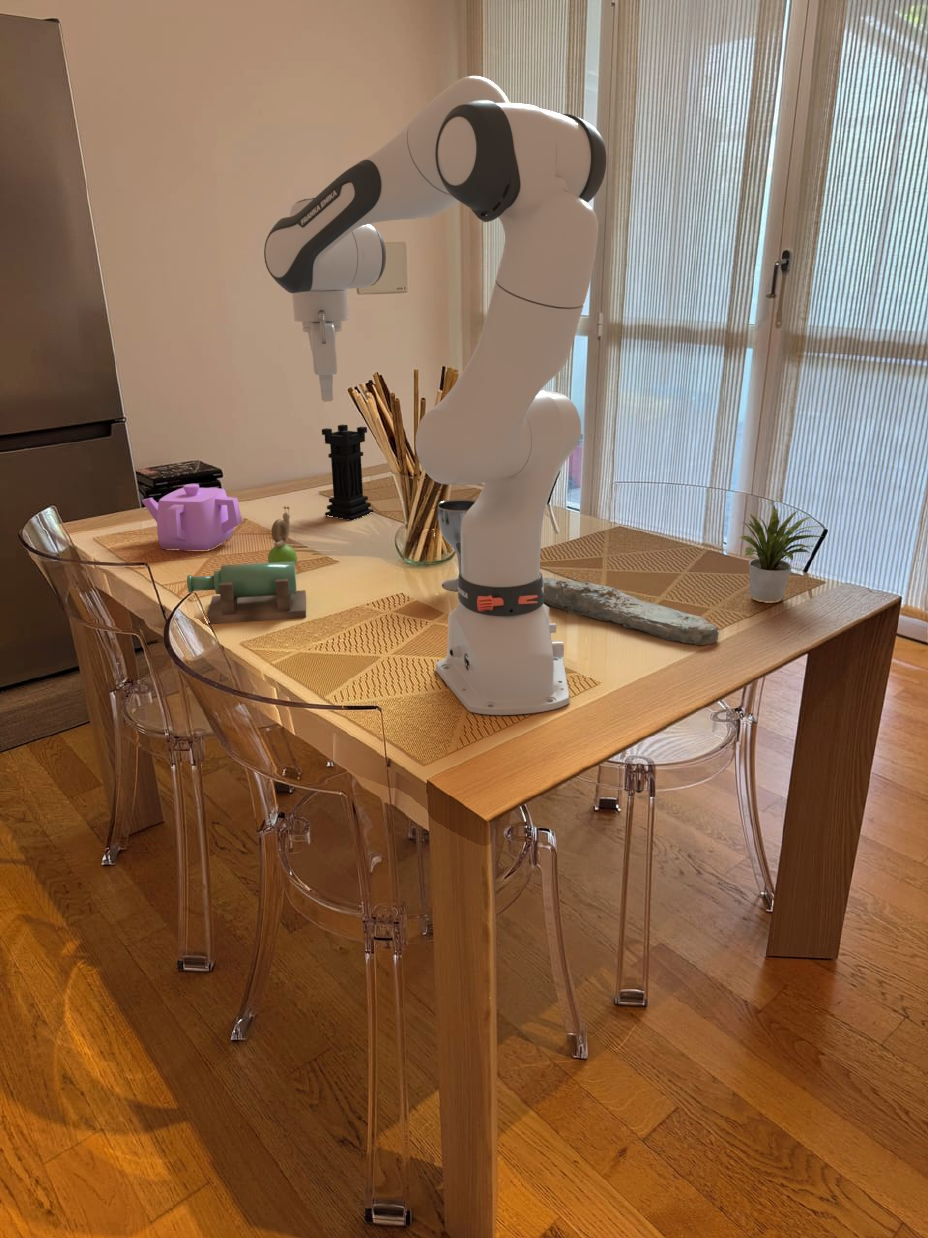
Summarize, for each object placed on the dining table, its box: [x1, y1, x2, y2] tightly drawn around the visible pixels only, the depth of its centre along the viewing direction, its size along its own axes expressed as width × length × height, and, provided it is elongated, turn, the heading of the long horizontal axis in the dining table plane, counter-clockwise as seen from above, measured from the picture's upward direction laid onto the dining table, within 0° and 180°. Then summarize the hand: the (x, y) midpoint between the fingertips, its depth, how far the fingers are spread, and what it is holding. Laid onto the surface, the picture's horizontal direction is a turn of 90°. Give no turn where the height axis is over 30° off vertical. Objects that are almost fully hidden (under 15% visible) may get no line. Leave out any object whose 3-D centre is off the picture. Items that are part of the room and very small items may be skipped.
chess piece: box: [321, 424, 374, 521], centre depth 207 cm, size 8×8×20 cm
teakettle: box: [141, 483, 243, 550], centre depth 190 cm, size 17×17×12 cm
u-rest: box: [206, 579, 307, 625], centre depth 153 cm, size 16×10×6 cm, turn 99°
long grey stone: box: [542, 577, 720, 646], centre depth 149 cm, size 35×5×10 cm
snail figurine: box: [267, 505, 298, 566], centre depth 171 cm, size 5×6×12 cm
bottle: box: [186, 561, 298, 598], centre depth 153 cm, size 18×6×6 cm
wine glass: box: [437, 498, 477, 592], centre depth 162 cm, size 8×8×15 cm
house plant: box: [739, 505, 823, 601], centre depth 153 cm, size 14×14×16 cm
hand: (326, 396), depth 151 cm, fingers open, 8 cm apart
